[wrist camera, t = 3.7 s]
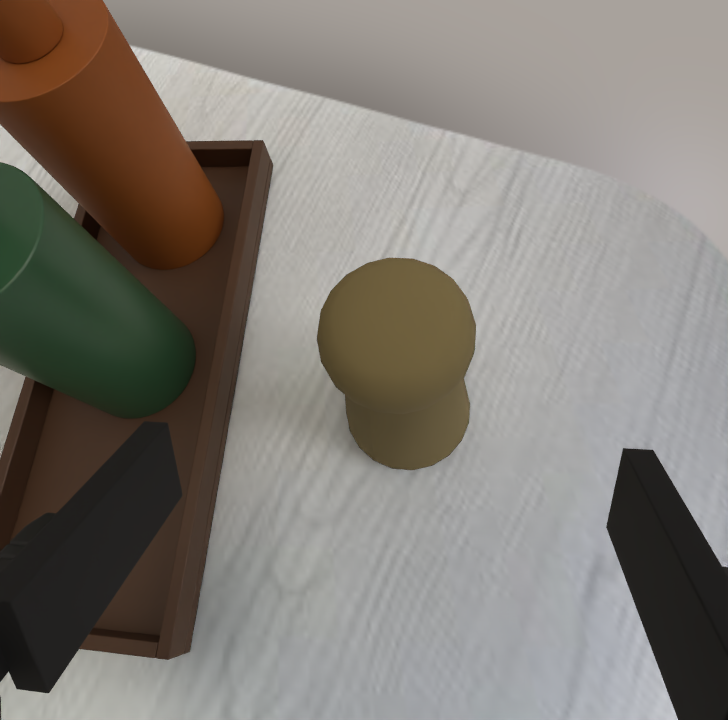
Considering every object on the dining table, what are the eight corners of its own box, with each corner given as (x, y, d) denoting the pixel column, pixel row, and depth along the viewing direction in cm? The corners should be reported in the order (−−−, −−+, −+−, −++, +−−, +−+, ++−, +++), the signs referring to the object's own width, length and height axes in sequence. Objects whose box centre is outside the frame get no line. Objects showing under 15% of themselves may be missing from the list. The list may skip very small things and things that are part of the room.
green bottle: (205, 312, 29) (-65, 17, 13) (184, 422, 27) (-165, 230, 11) (102, 309, 30) (-270, 28, 14) (73, 415, 28) (-397, 227, 12)
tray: (273, 165, 33) (263, 139, 31) (190, 651, 24) (168, 660, 22) (116, 166, 34) (96, 142, 32) (-17, 627, 25) (-54, 632, 23)
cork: (414, 327, 28) (404, 194, 18) (496, 414, 26) (539, 320, 16) (322, 401, 27) (256, 306, 17) (399, 496, 25) (377, 454, 15)
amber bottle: (232, 180, 32) (35, -193, 16) (214, 271, 30) (-31, -53, 14) (136, 181, 33) (-140, -174, 17) (113, 269, 31) (-227, -40, 15)
